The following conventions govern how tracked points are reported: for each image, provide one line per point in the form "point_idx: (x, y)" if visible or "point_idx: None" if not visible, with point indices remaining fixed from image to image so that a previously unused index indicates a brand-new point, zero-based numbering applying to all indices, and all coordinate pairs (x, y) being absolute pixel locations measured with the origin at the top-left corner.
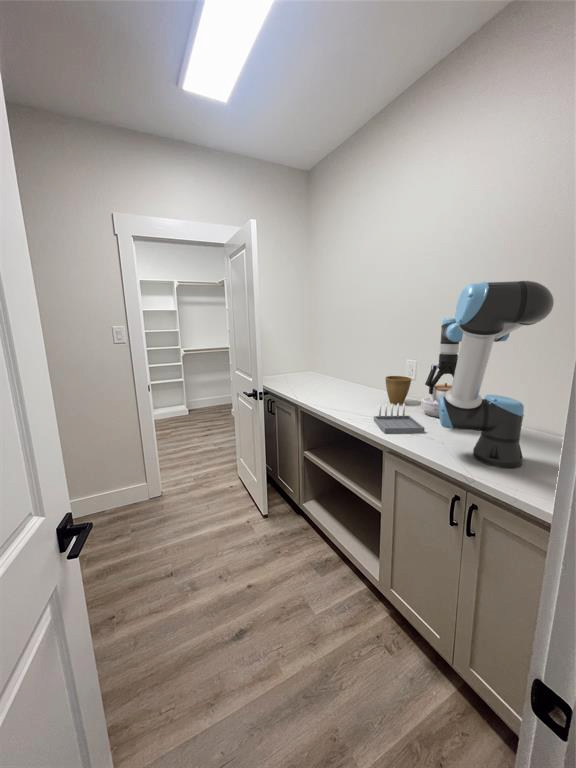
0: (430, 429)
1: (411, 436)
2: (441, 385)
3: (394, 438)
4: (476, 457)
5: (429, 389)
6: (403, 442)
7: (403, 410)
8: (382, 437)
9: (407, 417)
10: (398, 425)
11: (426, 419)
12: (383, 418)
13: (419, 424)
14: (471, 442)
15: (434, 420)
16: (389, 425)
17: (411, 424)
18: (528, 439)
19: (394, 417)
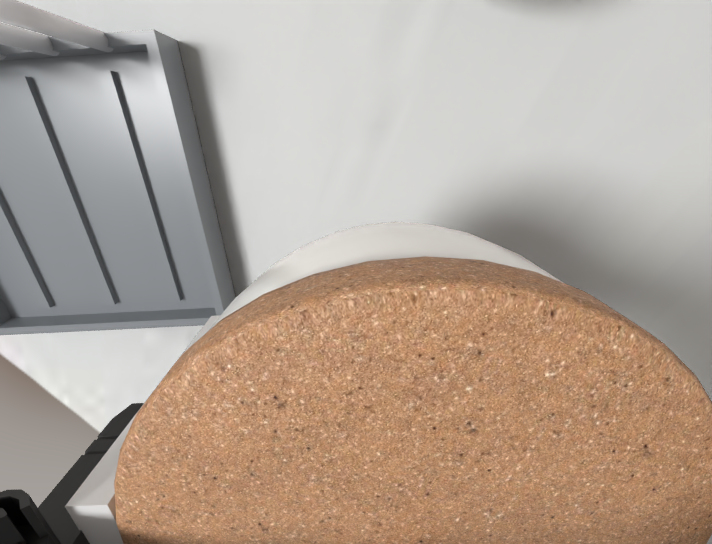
0: (291, 251)
1: (163, 350)
2: (360, 478)
3: (78, 372)
4: None
5: (71, 488)
6: (120, 410)
7: (49, 35)
8: (18, 363)
9: (146, 48)
10: (78, 241)
11: (335, 11)
12: None
13: (207, 268)
14: None
15: (393, 43)
16: (17, 242)
17: (172, 201)
18: (708, 375)
19: (27, 56)
